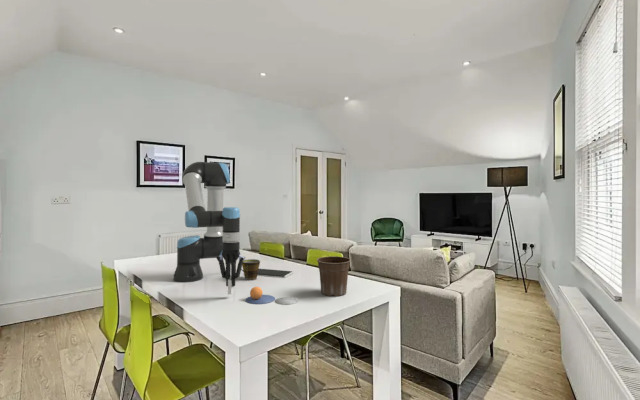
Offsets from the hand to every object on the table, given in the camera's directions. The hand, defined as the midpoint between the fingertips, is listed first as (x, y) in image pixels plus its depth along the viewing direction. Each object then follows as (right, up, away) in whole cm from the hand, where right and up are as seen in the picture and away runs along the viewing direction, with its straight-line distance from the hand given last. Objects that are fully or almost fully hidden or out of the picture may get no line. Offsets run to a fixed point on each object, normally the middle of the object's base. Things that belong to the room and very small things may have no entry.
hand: (230, 293), depth 150 cm
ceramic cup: (+1, -2, +33) cm, 33 cm away
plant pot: (+47, -3, +9) cm, 48 cm away
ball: (+12, +1, -2) cm, 12 cm away
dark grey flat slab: (+10, -2, +47) cm, 48 cm away
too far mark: (+26, -2, -4) cm, 26 cm away
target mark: (+14, -2, -2) cm, 14 cm away
